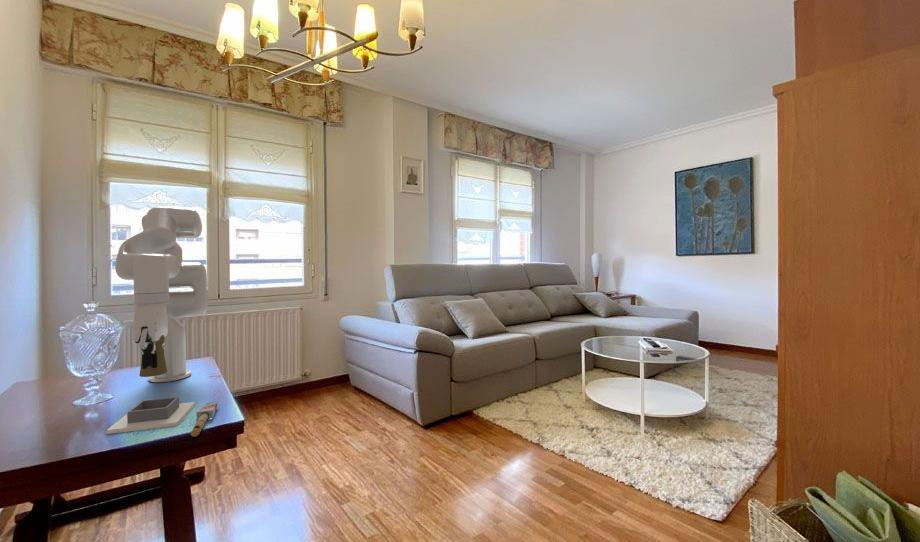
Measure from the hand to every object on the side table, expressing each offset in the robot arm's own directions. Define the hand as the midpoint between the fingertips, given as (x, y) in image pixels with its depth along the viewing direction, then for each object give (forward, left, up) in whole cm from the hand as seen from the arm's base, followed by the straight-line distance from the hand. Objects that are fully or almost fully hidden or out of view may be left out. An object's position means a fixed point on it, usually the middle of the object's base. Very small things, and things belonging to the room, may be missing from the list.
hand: (153, 365), depth 106 cm
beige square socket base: (0, 0, -15) cm, 15 cm away
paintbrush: (+6, +13, -15) cm, 21 cm away
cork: (0, 0, -2) cm, 2 cm away
